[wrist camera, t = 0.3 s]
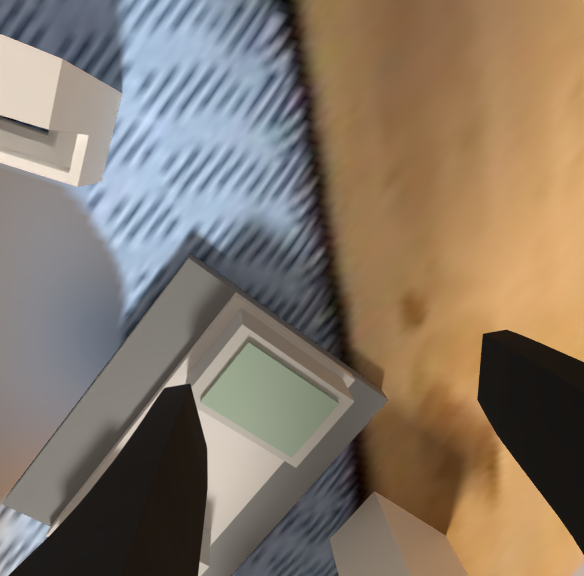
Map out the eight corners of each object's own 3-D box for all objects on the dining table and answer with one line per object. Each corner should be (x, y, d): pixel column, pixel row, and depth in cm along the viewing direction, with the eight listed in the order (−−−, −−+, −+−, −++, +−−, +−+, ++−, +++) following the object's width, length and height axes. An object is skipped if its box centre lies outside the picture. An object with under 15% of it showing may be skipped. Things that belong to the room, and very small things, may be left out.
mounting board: (210, 583, 25) (206, 654, 22) (11, 488, 22) (-31, 553, 19) (381, 390, 23) (409, 433, 20) (190, 253, 20) (182, 275, 16)
